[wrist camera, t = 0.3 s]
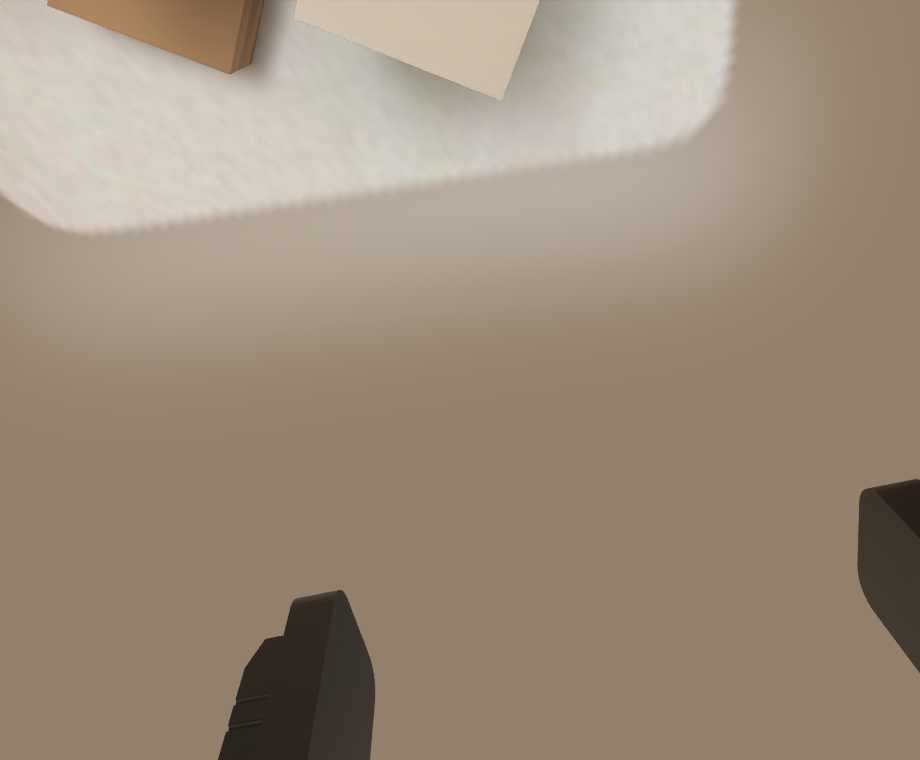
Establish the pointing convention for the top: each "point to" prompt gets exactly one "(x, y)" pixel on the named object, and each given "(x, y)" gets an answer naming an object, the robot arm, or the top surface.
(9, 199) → the top surface
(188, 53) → the brown wooden bridge block
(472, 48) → the tin
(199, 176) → the top surface
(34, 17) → the top surface
